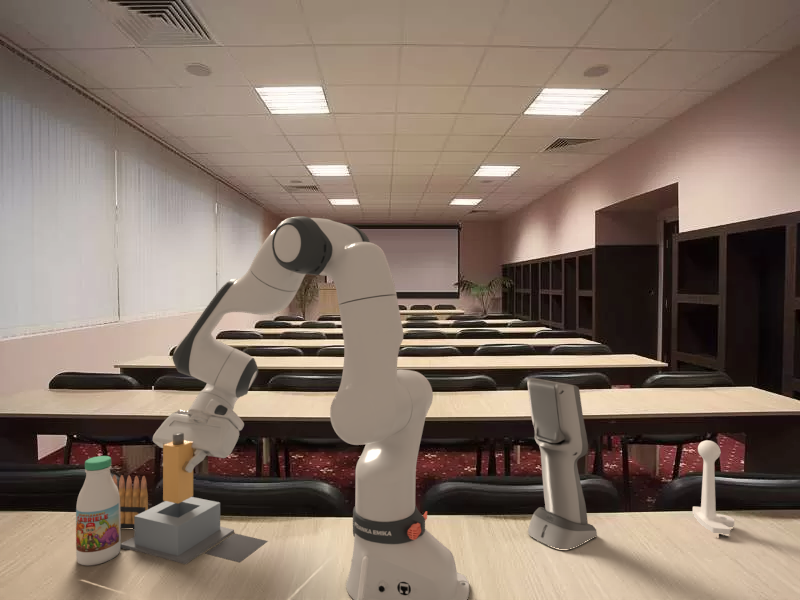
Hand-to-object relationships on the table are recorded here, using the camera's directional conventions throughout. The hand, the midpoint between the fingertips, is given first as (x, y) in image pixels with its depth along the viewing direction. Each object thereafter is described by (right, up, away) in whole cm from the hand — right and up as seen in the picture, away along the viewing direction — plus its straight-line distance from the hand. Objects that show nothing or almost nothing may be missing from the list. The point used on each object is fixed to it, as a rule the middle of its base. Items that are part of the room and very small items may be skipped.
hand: (175, 469), depth 106 cm
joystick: (+121, -16, +8) cm, 123 cm away
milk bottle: (-13, -16, -6) cm, 21 cm away
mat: (+14, -16, -3) cm, 21 cm away
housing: (0, -16, +1) cm, 16 cm away
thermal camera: (+84, -16, +4) cm, 86 cm away
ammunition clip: (-15, -16, +7) cm, 23 cm away
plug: (0, -7, +1) cm, 7 cm away
